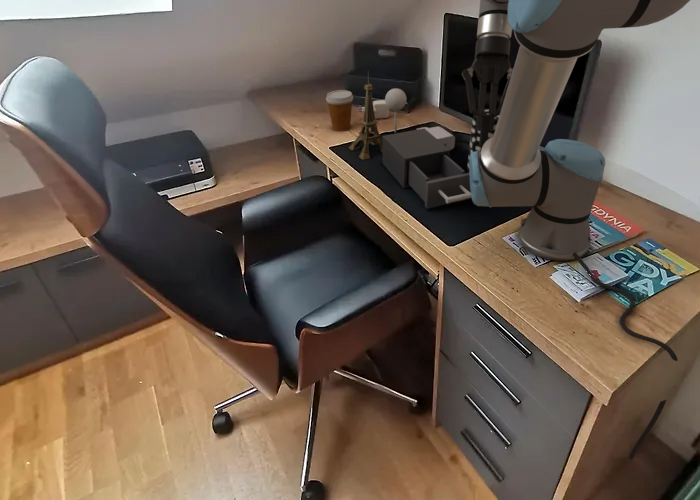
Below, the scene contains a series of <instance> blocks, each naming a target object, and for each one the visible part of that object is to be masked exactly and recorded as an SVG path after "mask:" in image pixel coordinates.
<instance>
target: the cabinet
mask: <svg viewBox="0 0 700 500" xmlns="http://www.w3.org/2000/svg"><path fill="white" fill-rule="evenodd" d="M382 140H383V153H382V165H383V166H384V167H385V168H386V169H387V171H388V172H389V173H390V174H391V176H392V177H393V178H394V179H395V180H396V181H397V182H398V183H399V184H400V186H401V187H402V188H403V189H408V188H412V187H411V186H410V185H409V184H408V183H407V161H409V160H415V159H420V158H425V157H430V156H435V155H440V154H446V155H447V156H448V157H449V158H450V159H451V150H450V149H448V148H447V147H446V146H445V145H444V144H442V143H441V142H440V141H439V140H438V139H436V138H435V137H434V136H433V135H432V134H430V133H429V132H428V131H427V130H426V129H419V128H418V130H417V129H413V130H408V131H407V130H406V131H402V132H396V133H391V134H385V135H382Z"/></svg>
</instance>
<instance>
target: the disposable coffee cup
mask: <svg viewBox="0 0 700 500" xmlns="http://www.w3.org/2000/svg"><path fill="white" fill-rule="evenodd" d="M325 100H326V102H327V106H328V111H329V116H330V120H331V125H332V129H333V130H334V131H337V132H342V131H347V130H350V128H351V121H352V120H351V119H352V107H353V100H354V95H353V93H352V92H351V91H350V90H346V89H337V90H332V91H329V92H327V94H326V97H325Z"/></svg>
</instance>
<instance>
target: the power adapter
mask: <svg viewBox="0 0 700 500" xmlns="http://www.w3.org/2000/svg"><path fill="white" fill-rule="evenodd" d="M372 101H373V108H374V115H375V120H377V119H387V118H389V117H390V109H389V108H388V107H387V106H386V103H385V99H380V100H372ZM364 110H365V106H359V107H358V112H359V113H362V112H363V113H364Z"/></svg>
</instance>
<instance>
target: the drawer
mask: <svg viewBox="0 0 700 500" xmlns="http://www.w3.org/2000/svg"><path fill="white" fill-rule="evenodd" d="M407 183H408V184H409V185H410V186H411V187H410V188H412V190H413V191H414V192H415V193H416V194H417V195H418V196H419V198H420V199H421V200H422V201H423V202H424V207H425V208H426V209H430V208H435V207H440V206H445V205H449V204H453V203H459V202H462V201H466V200H470V199H472V197H471V189H470V174H469V173H467V172H466V170H464V168H462V167H461V166H460V165H459V164H458V163H456V162H455V161H454V160H453V159H452V158H451V157H450V158H449V157H448V156H447V155H446V154H440V155H435V156H430V157H425V158H420V159H415V160H409V161H407Z"/></svg>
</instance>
